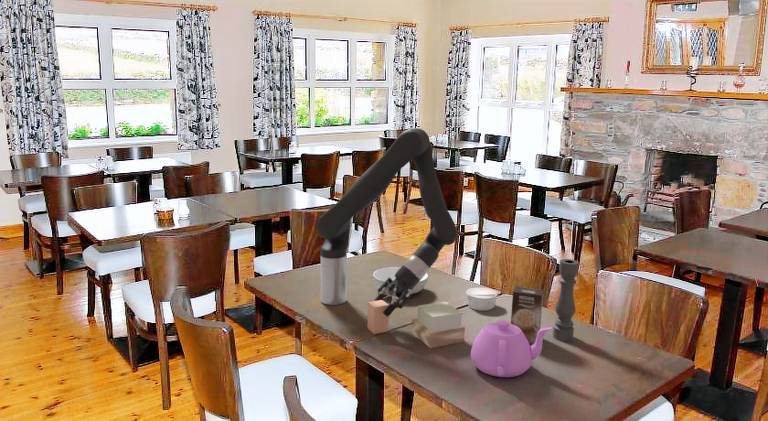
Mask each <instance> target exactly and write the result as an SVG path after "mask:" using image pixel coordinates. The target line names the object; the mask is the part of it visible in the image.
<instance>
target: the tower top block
mask: <svg viewBox="0 0 768 421" xmlns="http://www.w3.org/2000/svg"><path fill="white" fill-rule="evenodd" d="M462 314H463V313H462V312H461V311H460V310H459V309H457V308H455V307H454V306H453V305H451V304H450V303H448V302H447V301H441V302H435V303H426V304H420V305H417V319H418V321H419V322H420V323H421V324H422V325H424V326H425V327H426V328H427V329H428V330H429V331H431V332H438V331H445V330H451V329H458V328H461V325H462Z"/></svg>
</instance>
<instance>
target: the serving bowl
mask: <svg viewBox="0 0 768 421" xmlns="http://www.w3.org/2000/svg"><path fill="white" fill-rule="evenodd" d="M401 267H402V266H391V267H383V268H379V269H377V270H375V271H374V272H373V273H372V274H373V275H372V276H373V282H374V284H375V286H376V287H377V289H379V288H380V287H381V286H382V284H383V283H384V282H385V281H386V280H387V279H388V278H391V279H392V280H393V281H394V280H395V279H396V277H395V274H396V272H397V271H398V270H399V269H400V268H401ZM428 279H429V274H428V273H427V272H426V274H425V275H424V276H423V278H422V279H421V280H420V281H419V282H418V284H417V285H416V286H415V287H414V288H413V289H412V290H410V289H408V291H409V292H410V293H411V294H412V295H413V294H416V293H419V292H420V291H422V290H423V289H424V288H425V286H426V285H427V283H428ZM384 288H385V287H384ZM384 288H383V289H382V290H384Z"/></svg>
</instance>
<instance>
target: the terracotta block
mask: <svg viewBox="0 0 768 421" xmlns="http://www.w3.org/2000/svg"><path fill="white" fill-rule="evenodd" d="M388 305H389V304H388V303H387V302H385V300H378V301H374V300H373V301H372V300H371V301H368V302H367V329H368V330H369V331H370V332H371V333H372V334H373V335H374V334H375V335H377V334H381V333H388V332H389V316H388V317H387V316H386V315H385V314H384V313H383V311H384V310H385V309H386V308H387V307H388Z"/></svg>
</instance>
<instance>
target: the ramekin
mask: <svg viewBox="0 0 768 421" xmlns="http://www.w3.org/2000/svg"><path fill="white" fill-rule="evenodd" d="M465 295H466V302H467V306H468V307H469V308H471V309H472V310H475V311H481V312H485V311H491V310H493V308H495V306H496V302H497V298H498V293H497V291H496V290H494V289H491V288H487V287H472V288H471V287H470V288H468V289H467V290H466V291H465Z"/></svg>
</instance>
